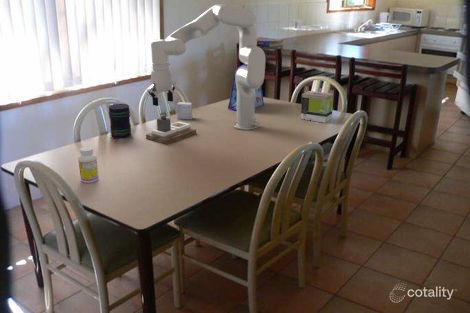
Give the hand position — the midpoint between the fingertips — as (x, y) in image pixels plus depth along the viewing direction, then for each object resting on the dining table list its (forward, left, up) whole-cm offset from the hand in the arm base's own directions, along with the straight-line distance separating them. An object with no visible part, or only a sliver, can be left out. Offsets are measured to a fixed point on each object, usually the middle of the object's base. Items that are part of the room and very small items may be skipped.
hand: (163, 103), depth 215 cm
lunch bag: (+3, -73, -18) cm, 75 cm away
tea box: (-43, -76, -18) cm, 89 cm away
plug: (0, 0, -15) cm, 15 cm away
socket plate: (+1, -5, -16) cm, 16 cm away
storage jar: (+20, +10, -18) cm, 29 cm away
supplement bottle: (-13, +53, -18) cm, 58 cm away
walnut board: (0, -5, -18) cm, 18 cm away
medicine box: (+16, -32, -18) cm, 40 cm away
